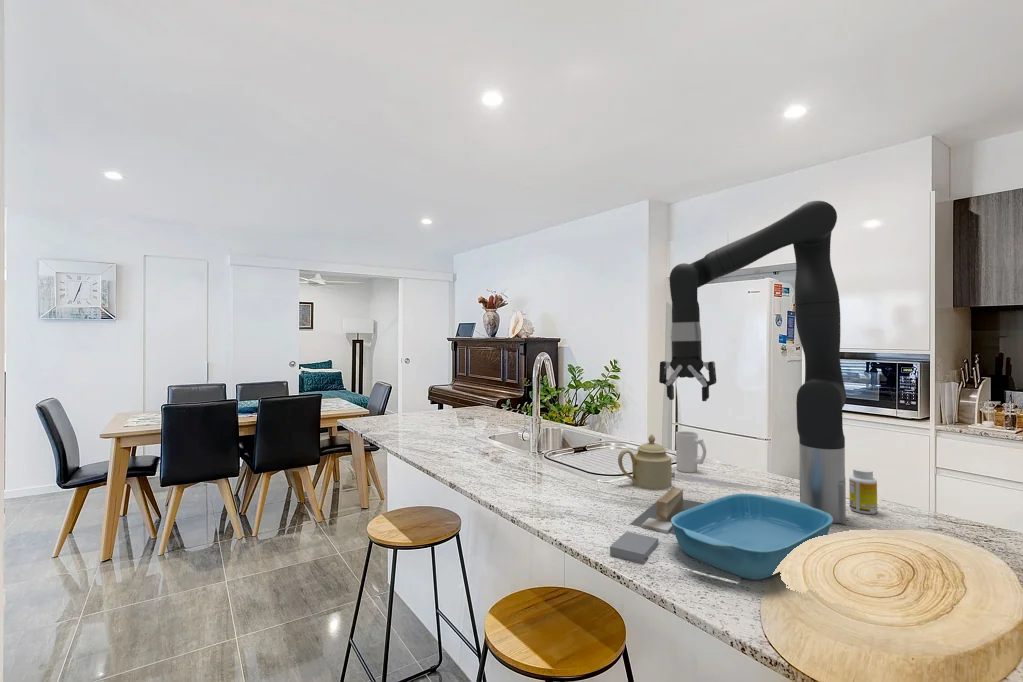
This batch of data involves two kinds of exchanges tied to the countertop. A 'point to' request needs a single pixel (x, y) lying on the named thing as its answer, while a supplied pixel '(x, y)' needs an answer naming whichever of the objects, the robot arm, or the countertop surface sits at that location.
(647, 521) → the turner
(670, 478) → the beige teapot
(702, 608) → the countertop surface
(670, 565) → the countertop surface
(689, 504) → the mat
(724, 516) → the casserole dish
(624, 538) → the tile
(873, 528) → the countertop surface
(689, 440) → the mug
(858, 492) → the supplement bottle
